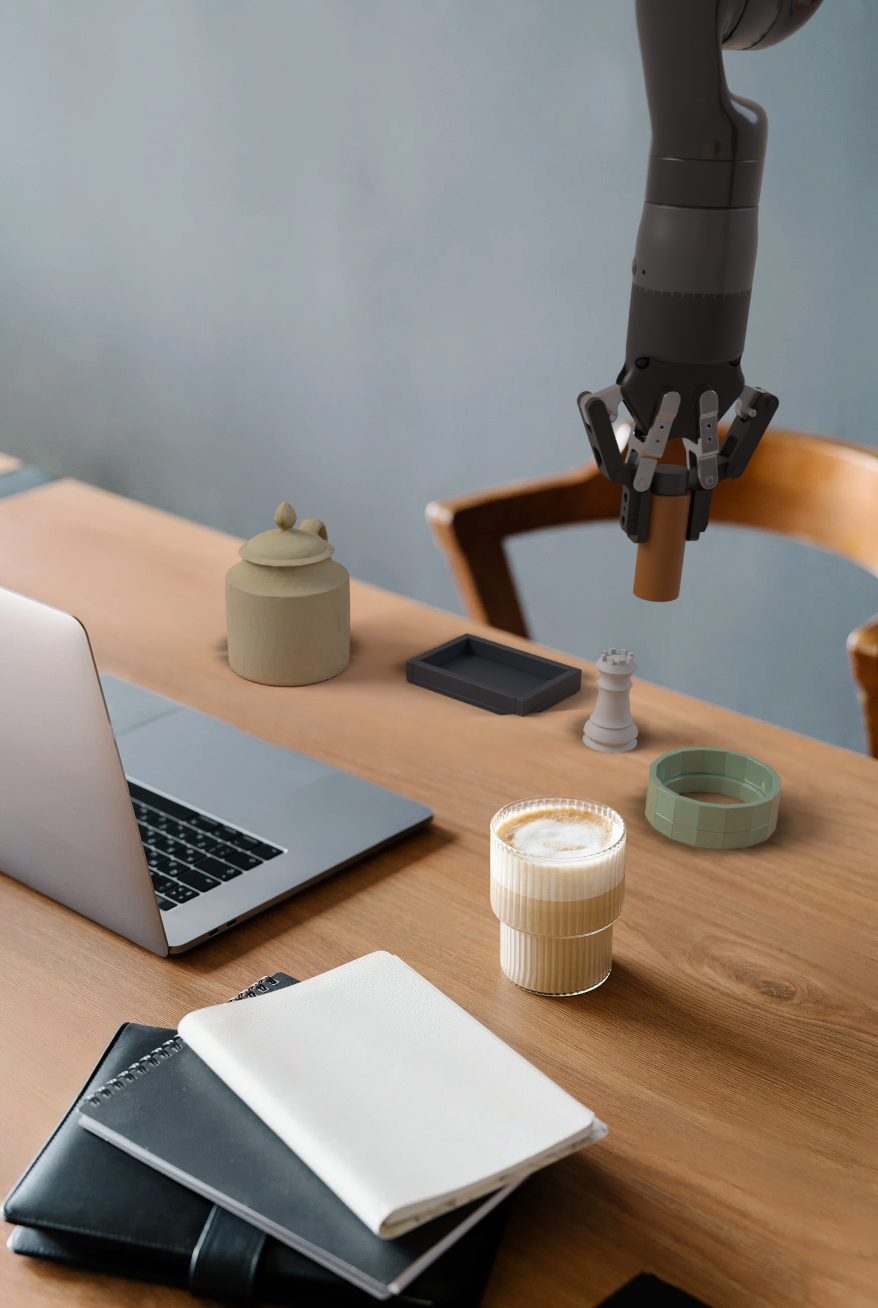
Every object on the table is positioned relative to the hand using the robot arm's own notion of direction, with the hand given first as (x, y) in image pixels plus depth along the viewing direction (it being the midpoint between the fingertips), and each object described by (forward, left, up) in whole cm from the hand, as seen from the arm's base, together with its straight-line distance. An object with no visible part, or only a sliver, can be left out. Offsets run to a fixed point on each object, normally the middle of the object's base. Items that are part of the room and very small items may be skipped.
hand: (662, 537), depth 96 cm
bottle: (0, 0, -4) cm, 4 cm away
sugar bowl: (+23, -30, -20) cm, 43 cm away
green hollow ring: (-3, +7, -20) cm, 21 cm away
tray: (+6, -20, -20) cm, 29 cm away
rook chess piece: (0, -7, -20) cm, 21 cm away
